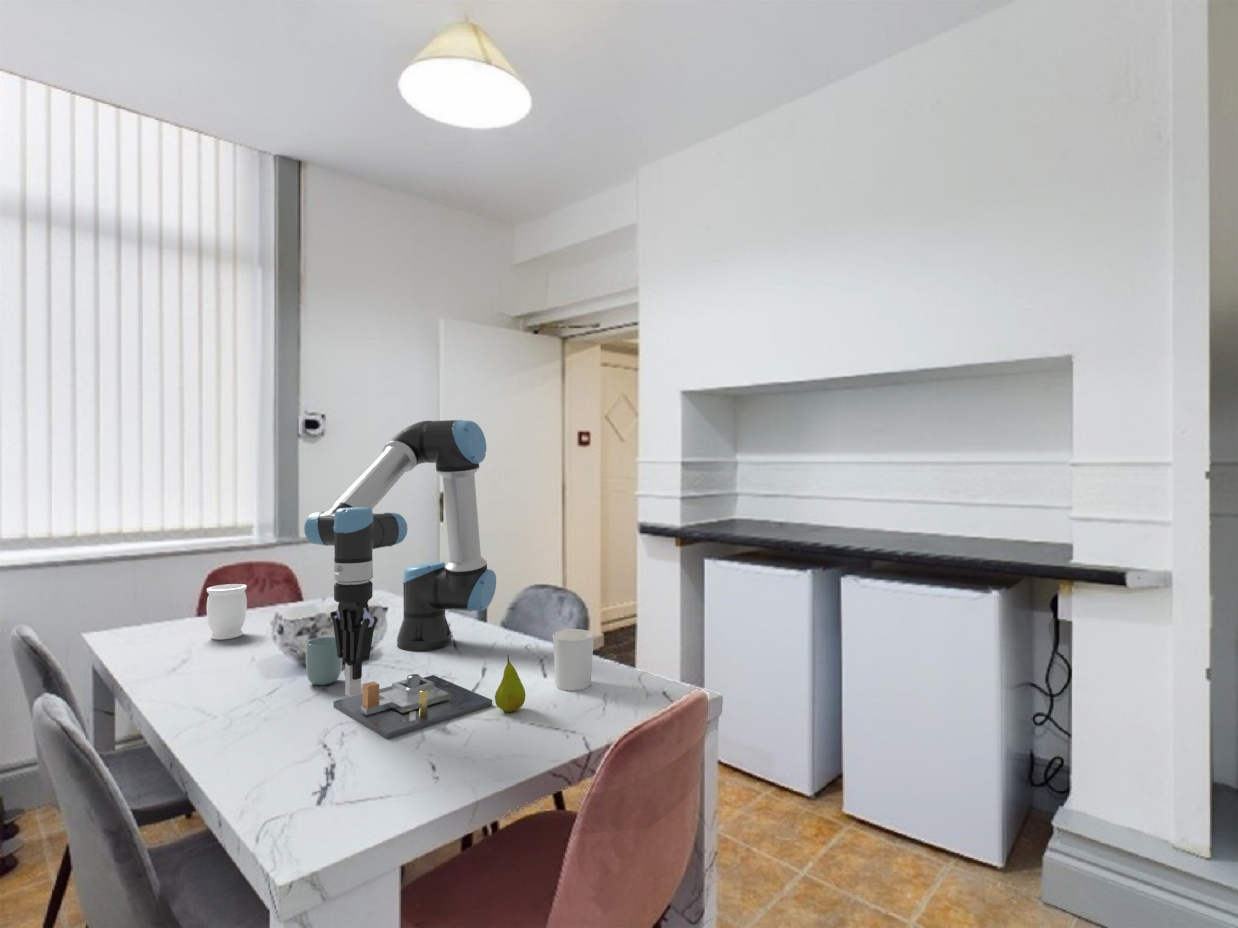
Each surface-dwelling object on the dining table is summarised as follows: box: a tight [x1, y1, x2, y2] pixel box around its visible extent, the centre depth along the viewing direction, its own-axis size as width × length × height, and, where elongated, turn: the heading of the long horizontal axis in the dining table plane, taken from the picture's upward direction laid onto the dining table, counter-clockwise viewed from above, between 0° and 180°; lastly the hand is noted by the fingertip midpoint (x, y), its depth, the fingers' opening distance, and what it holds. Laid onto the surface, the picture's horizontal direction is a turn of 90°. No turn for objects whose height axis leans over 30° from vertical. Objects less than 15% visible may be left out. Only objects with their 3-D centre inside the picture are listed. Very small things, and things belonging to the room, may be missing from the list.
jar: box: [206, 583, 248, 641], centre depth 196 cm, size 11×10×15 cm
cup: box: [305, 636, 343, 686], centre depth 155 cm, size 8×8×10 cm
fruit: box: [494, 654, 526, 713], centre depth 138 cm, size 6×6×12 cm
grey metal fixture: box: [361, 676, 450, 715], centre depth 139 cm, size 16×11×6 cm, turn 137°
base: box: [333, 673, 493, 740], centre depth 141 cm, size 24×24×6 cm
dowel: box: [419, 690, 427, 717], centre depth 132 cm, size 2×2×5 cm
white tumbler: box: [552, 628, 595, 692], centre depth 154 cm, size 10×10×12 cm
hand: (353, 693), depth 137 cm, fingers closed
